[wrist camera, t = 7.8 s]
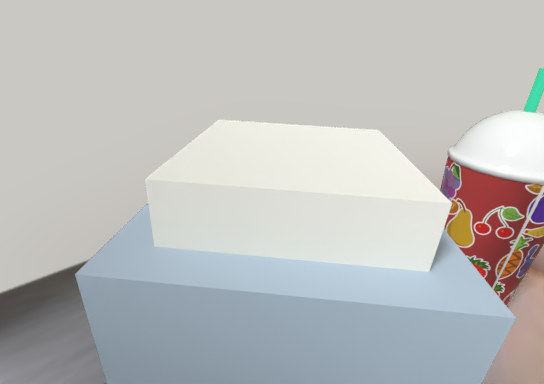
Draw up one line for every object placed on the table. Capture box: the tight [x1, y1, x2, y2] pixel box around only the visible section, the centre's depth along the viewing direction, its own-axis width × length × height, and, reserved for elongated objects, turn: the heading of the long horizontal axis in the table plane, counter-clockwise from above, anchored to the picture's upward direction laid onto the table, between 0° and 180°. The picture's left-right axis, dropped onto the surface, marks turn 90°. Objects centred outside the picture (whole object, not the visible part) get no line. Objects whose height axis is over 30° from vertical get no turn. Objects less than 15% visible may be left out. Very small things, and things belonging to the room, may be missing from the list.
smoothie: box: [440, 68, 544, 306], centre depth 24 cm, size 8×8×20 cm
